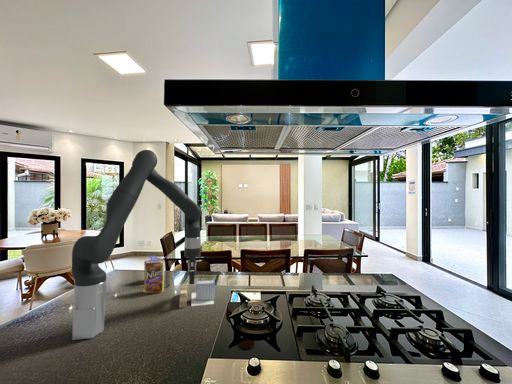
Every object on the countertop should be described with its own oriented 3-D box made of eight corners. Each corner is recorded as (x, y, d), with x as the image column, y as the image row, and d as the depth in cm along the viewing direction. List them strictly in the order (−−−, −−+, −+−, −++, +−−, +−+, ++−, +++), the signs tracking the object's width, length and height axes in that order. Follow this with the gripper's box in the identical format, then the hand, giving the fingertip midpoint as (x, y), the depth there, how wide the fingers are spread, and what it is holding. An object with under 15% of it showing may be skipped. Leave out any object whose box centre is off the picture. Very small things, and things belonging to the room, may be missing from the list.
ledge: (186, 307, 106) (186, 295, 106) (179, 307, 105) (179, 296, 106) (187, 294, 121) (187, 283, 122) (181, 294, 121) (181, 284, 121)
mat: (214, 304, 109) (214, 303, 109) (191, 306, 107) (191, 305, 107) (211, 292, 124) (211, 291, 125) (191, 293, 122) (191, 292, 122)
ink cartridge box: (158, 278, 147) (159, 253, 148) (164, 279, 144) (164, 255, 145) (143, 282, 139) (144, 256, 140) (149, 284, 136) (149, 258, 137)
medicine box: (196, 297, 116) (214, 296, 117) (195, 301, 111) (214, 300, 113) (196, 280, 116) (214, 280, 118) (196, 283, 112) (215, 282, 113)
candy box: (143, 293, 121) (144, 262, 122) (146, 290, 126) (147, 260, 126) (162, 293, 123) (163, 262, 123) (164, 290, 127) (165, 260, 128)
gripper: (201, 249, 110) (200, 285, 109) (200, 244, 123) (199, 276, 123) (183, 249, 108) (182, 286, 107) (184, 244, 122) (184, 277, 121)
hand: (191, 281), depth 115 cm, fingers open, 8 cm apart
